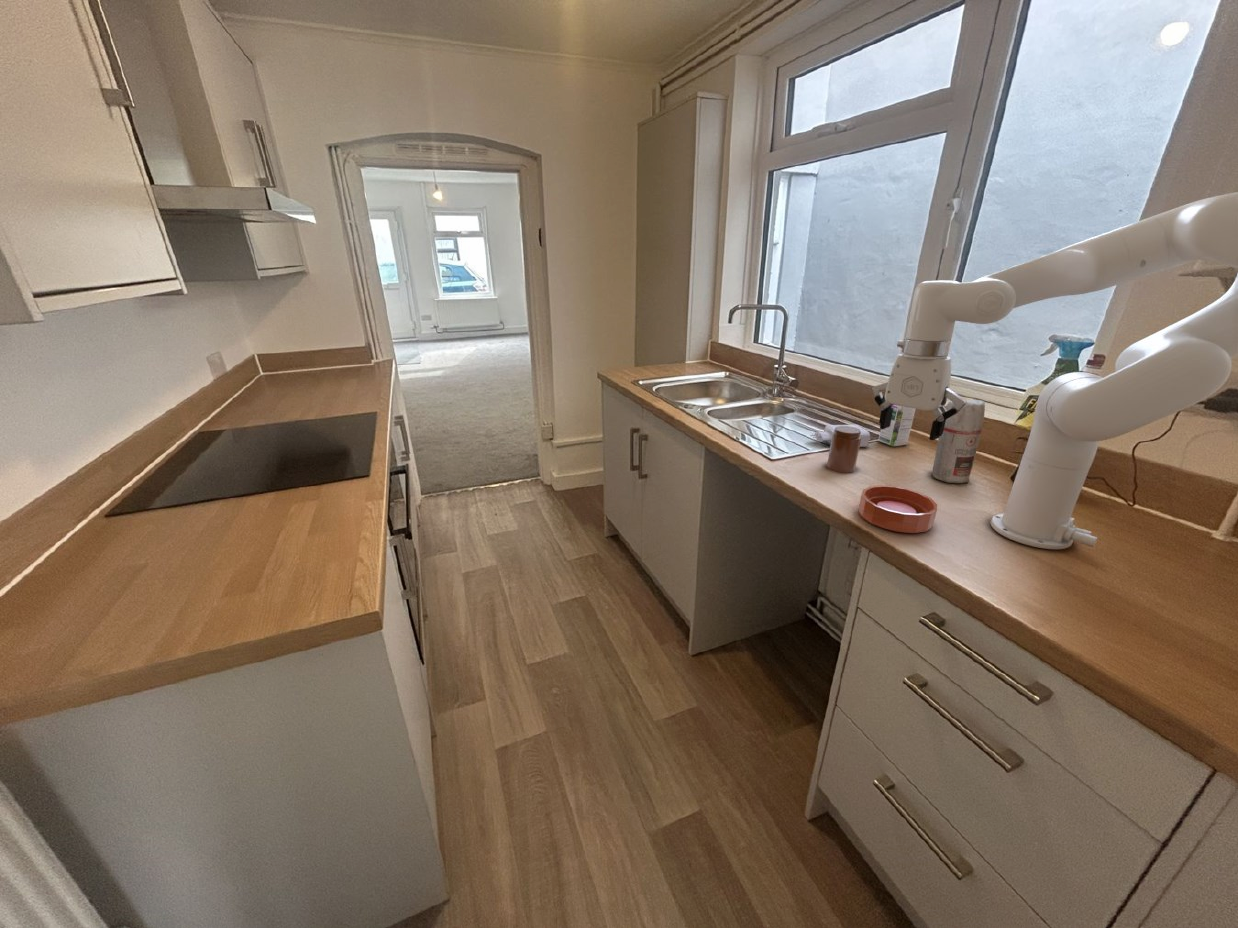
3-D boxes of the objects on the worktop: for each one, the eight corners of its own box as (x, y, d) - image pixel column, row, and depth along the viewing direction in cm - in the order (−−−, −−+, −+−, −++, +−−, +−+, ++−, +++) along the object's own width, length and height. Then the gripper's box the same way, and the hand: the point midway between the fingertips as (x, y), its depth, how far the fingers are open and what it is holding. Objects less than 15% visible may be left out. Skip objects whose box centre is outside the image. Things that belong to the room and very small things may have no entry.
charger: (804, 439, 148) (851, 438, 148) (817, 449, 139) (867, 448, 140) (806, 424, 146) (854, 423, 147) (819, 434, 137) (870, 432, 138)
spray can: (933, 482, 118) (954, 402, 110) (925, 469, 125) (944, 394, 117) (973, 486, 115) (997, 405, 108) (963, 473, 122) (985, 396, 115)
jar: (859, 467, 126) (866, 429, 122) (848, 475, 122) (855, 435, 118) (833, 460, 131) (840, 423, 127) (822, 467, 127) (828, 429, 123)
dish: (943, 521, 100) (949, 502, 98) (912, 542, 92) (918, 521, 90) (878, 498, 110) (882, 480, 108) (845, 515, 102) (849, 496, 101)
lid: (877, 505, 105) (879, 497, 105) (915, 513, 102) (917, 506, 101) (872, 518, 100) (874, 510, 99) (912, 528, 96) (914, 520, 95)
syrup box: (877, 440, 146) (886, 394, 140) (892, 438, 147) (902, 392, 142) (892, 447, 141) (903, 398, 135) (908, 444, 142) (919, 397, 137)
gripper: (871, 346, 97) (858, 427, 104) (969, 356, 84) (947, 447, 91) (889, 342, 101) (875, 420, 108) (985, 351, 89) (963, 439, 95)
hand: (908, 433), depth 99 cm, fingers open, 9 cm apart
